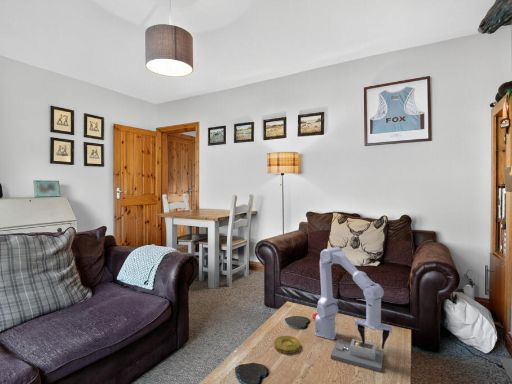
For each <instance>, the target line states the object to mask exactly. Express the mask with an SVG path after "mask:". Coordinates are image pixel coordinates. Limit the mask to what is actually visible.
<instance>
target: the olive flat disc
mask: <svg viewBox="0 0 512 384" xmlns="http://www.w3.org/2000/svg"><path fill="white" fill-rule="evenodd" d="M273 344H274V345H273V346H274V348H275V350H276V351H278V352H279V353H280V352H281V354H283V353H286V354H285V355H287V354H293V353H296V352H300V350H301V342H300V340H299V339H298V338H296V337H295V336H291V335H282V336H277V338H275V339H274V341H273Z"/></svg>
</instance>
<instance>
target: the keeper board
mask: <svg viewBox="0 0 512 384" xmlns="http://www.w3.org/2000/svg"><path fill="white" fill-rule="evenodd" d="M337 343H338V344H342V345H344V347H347V348H348V350H345V349H343V351H339V350H336V346H337ZM350 344H351V342H350V341H346V340H342V339H338V338H337V340H336V342H335V345H334V347H333V349H332V351H331V354H330V359H333V360H335V361H340V362H343V363H347V364H350V365H355V366H357V367H360V368H363V369H364V368H365V369H368V370H372V371H376V372H379V373H382V368H383V361H384V360H383V359H384V354H385V353H384V350H383V349H380V348H376V359H375V361H373V360H369V359H365V358H361V357H358V356H354V355H350ZM355 345H357V346H360V343H358V342H356V343H355Z"/></svg>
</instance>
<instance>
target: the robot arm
mask: <svg viewBox="0 0 512 384" xmlns="http://www.w3.org/2000/svg"><path fill="white" fill-rule="evenodd" d="M346 255H347V254H346V252H345V251H344V250H343V248H341V246H340V247H339V246H336V247H331V248H324V249H322V251H321V252H320V256H319V257H320V259H319V277H320V290H321V291H320V293H321V295H320V297H321V298H320V297H319V300H318V301H317V306H316V313H318V315H316V319H315V320H314V336H317V337H320V338H325V339H328V340H333V341H334V340H335V338H336V336H337V334H338V331H336V317H337V314H338V312H339V307H338V303H337V299H336V298H334V295H333V277H332V265H334V264H336V265H337V264H339V265H340V266H341V267H342V268H343V269H345V270H346V272H348V273H349V274H350V275H351V276H352V280H353V282H354V283H355V284H356V285H357V286H358V287H359V288H360V289H361V290H362V291H363V296H364V298H365V302H366V303H365V304H366V306H365V308H366V311H365V315H366V316H365V318H366V319H357V318H356V319H355V320H354V322H355V323H354V325H355V326H357V332H358V333H359V336H360V338H361V341H362V344H364V343H365V342H366V341H365V340H366V335H365V331H366V330H365V328H369V329H370V330H374V331H375V330H379V331H382V332H381V333H382V335H381V336H382V339H381V341H382V343H381V344H382V345H381V350H383V349H385V344H386V342H387V340H388V338H389V337H390V334H393V326H392V325H391V326H390V325H387V324H385V323H382V316H381V315H382V298H383V297H384V295H385V291H384V289H383V287H382V285H381V284H379V283H375V282H374V281H373V280H371V278H370V277H368V275H367V273H366V272H364V271H363V270H358V268H357V267H356V266H355V265H354V264H353V263H352V261H351V260H350V259H349V257H348V256H346Z"/></svg>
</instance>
